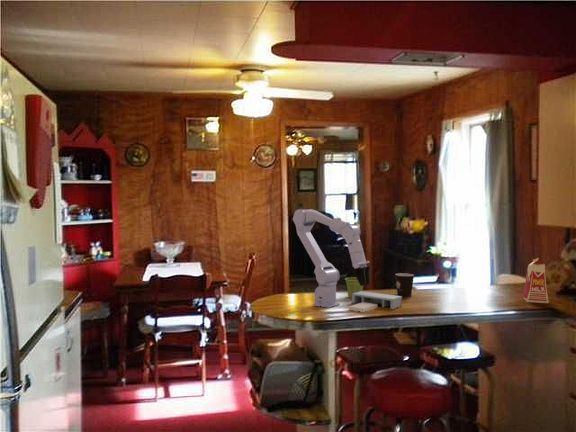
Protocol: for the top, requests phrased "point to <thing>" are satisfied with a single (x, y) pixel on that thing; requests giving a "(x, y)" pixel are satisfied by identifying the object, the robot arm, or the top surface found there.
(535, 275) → the milk carton
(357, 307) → the tile
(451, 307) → the top surface
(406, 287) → the coffee mug
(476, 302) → the top surface
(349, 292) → the plant pot
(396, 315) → the top surface
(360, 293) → the shelf
